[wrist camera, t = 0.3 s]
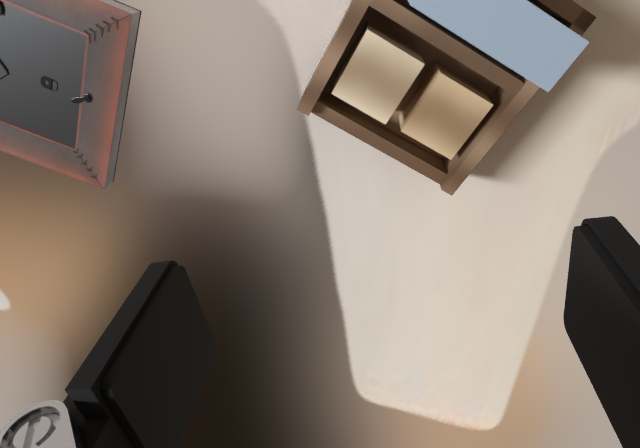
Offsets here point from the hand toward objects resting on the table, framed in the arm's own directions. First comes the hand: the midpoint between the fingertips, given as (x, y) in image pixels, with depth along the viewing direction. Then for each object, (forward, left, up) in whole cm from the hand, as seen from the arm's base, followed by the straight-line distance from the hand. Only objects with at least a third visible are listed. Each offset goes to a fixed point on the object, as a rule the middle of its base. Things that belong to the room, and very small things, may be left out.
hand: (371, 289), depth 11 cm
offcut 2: (+1, +7, -29) cm, 30 cm away
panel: (-6, +4, -29) cm, 30 cm away
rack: (-2, +4, -30) cm, 30 cm away
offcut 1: (+1, +1, -29) cm, 29 cm away
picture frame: (+16, -27, -31) cm, 44 cm away
